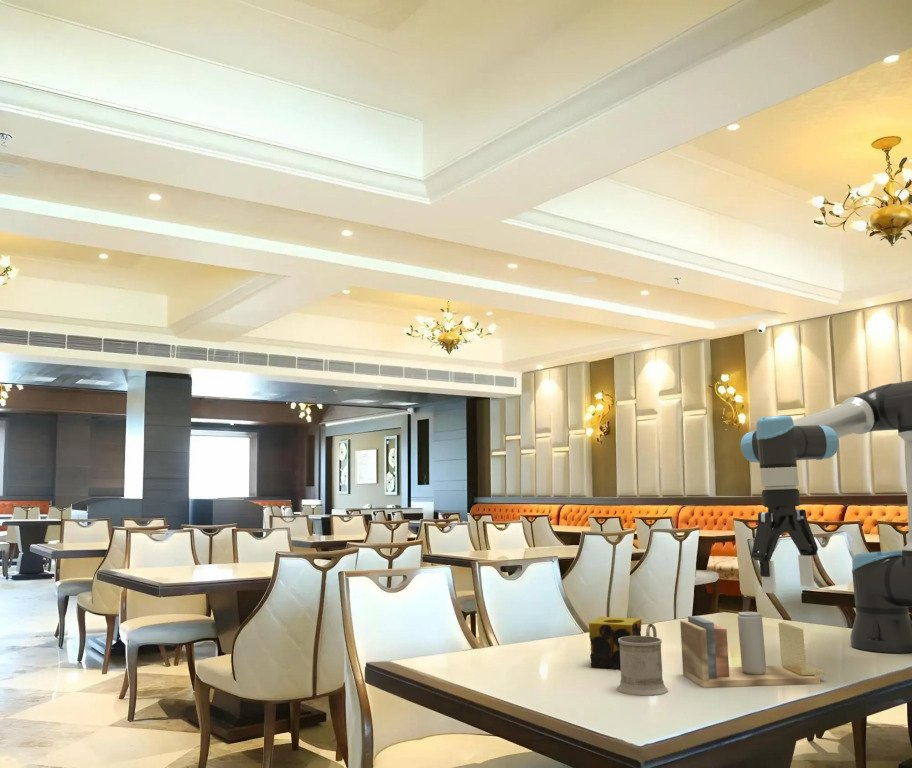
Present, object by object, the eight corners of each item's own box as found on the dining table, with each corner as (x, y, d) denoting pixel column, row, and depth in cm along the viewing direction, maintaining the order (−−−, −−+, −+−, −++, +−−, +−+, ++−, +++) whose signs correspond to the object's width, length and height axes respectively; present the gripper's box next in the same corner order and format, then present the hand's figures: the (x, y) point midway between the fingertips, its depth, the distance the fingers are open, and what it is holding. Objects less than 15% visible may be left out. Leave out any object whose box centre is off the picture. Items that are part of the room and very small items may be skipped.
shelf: (792, 671, 177) (788, 612, 178) (820, 683, 165) (815, 621, 166) (683, 674, 175) (679, 615, 177) (703, 687, 163) (699, 624, 165)
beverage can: (755, 676, 167) (750, 615, 169) (736, 672, 171) (732, 613, 173) (771, 673, 169) (766, 613, 171) (753, 669, 173) (748, 610, 175)
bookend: (804, 665, 175) (801, 622, 177) (825, 674, 167) (822, 628, 168) (781, 666, 175) (778, 622, 176) (801, 675, 166) (798, 629, 167)
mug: (658, 698, 156) (655, 632, 157) (609, 692, 161) (606, 629, 163) (681, 682, 168) (678, 622, 170) (635, 677, 173) (632, 619, 175)
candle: (645, 662, 189) (643, 618, 190) (635, 671, 180) (633, 624, 181) (601, 659, 193) (599, 616, 194) (589, 668, 184) (588, 622, 185)
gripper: (798, 486, 186) (806, 582, 183) (728, 490, 172) (736, 594, 169) (829, 485, 180) (838, 584, 177) (759, 489, 166) (768, 597, 163)
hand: (788, 589), depth 173 cm, fingers open, 13 cm apart
